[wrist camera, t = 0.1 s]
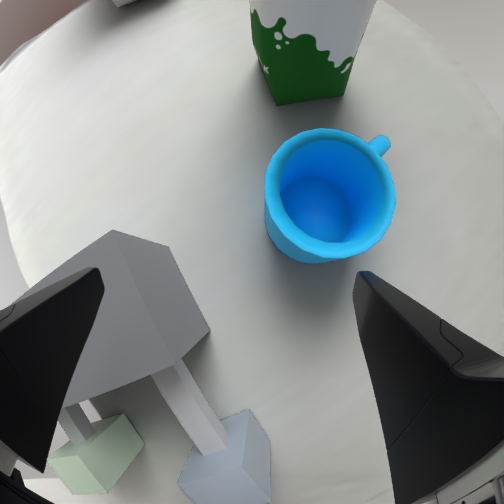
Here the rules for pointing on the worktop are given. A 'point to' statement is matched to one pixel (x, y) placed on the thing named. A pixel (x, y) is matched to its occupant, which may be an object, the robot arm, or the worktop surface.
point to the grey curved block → (130, 314)
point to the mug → (328, 195)
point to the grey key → (217, 445)
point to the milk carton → (308, 45)
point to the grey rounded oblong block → (122, 2)
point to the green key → (94, 451)
